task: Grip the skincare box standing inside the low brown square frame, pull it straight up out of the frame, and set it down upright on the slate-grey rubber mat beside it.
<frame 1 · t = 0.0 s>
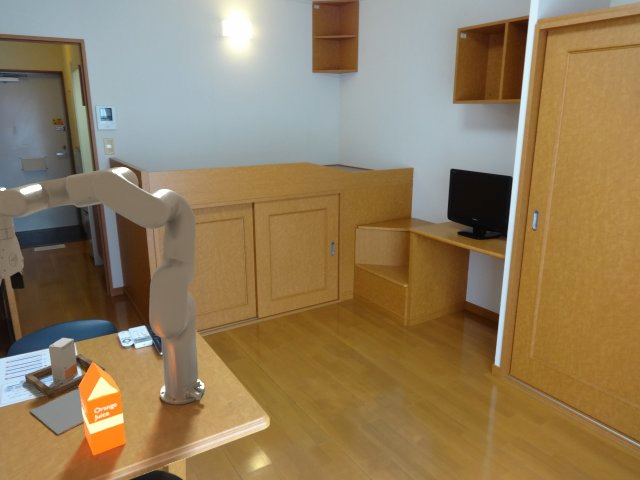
hand: (8, 294, 129), 31 cm above the table, tool pointing down, fingers open, 9 cm apart
rubber mat: (72, 409, 131), on the table
orange juice: (105, 440, 119), on the table
skincare box: (66, 378, 147), resting in brown square frame
brown square frame: (66, 377, 147), on the table
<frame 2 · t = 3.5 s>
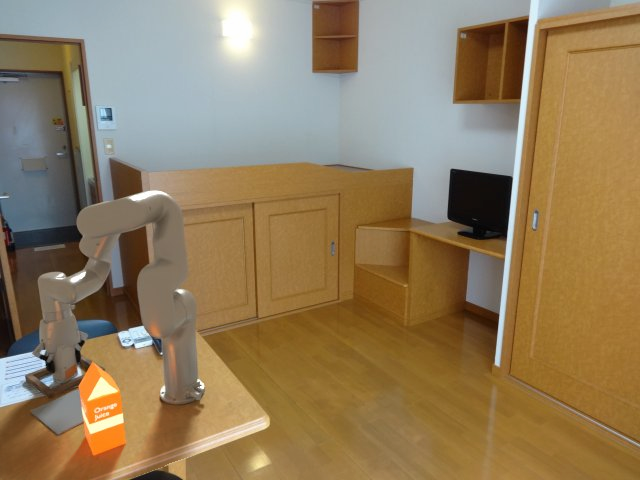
hand: (64, 366, 146), 4 cm above the table, tool pointing down, fingers closed on skincare box, 7 cm apart
skincare box: (66, 378, 147), resting in brown square frame, touching gripper
everything else where it was.
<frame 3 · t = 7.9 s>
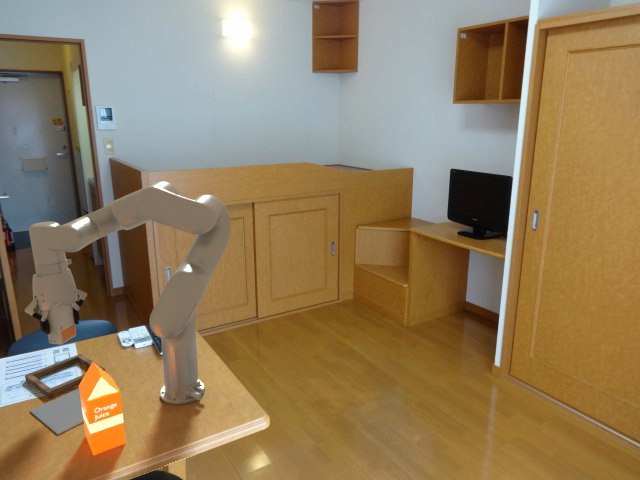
hand: (61, 327, 133), 21 cm above the table, tool pointing down, fingers closed on skincare box, 7 cm apart
skincare box: (63, 340, 134), point 17 cm above the table, touching gripper
everything else where it was.
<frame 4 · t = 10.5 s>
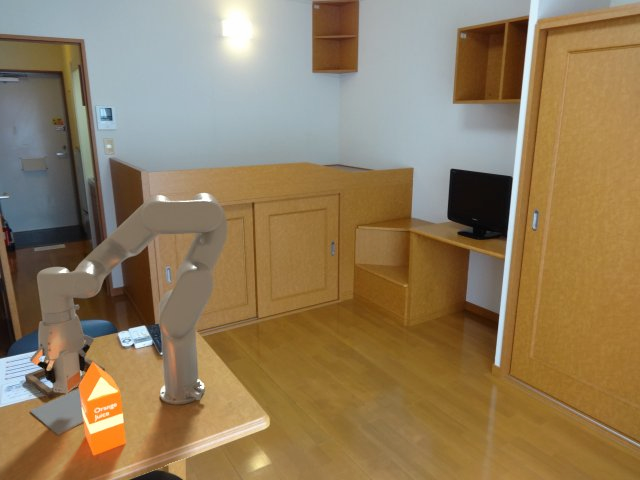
hand: (66, 374, 128), 11 cm above the table, tool pointing down, fingers closed on skincare box, 7 cm apart
skincare box: (68, 387, 129), point 7 cm above the table, touching gripper
everything else where it was.
when the fingers open (6 cm above the table, at t = 12.5 s): skincare box drops 1 cm, resting on rubber mat.
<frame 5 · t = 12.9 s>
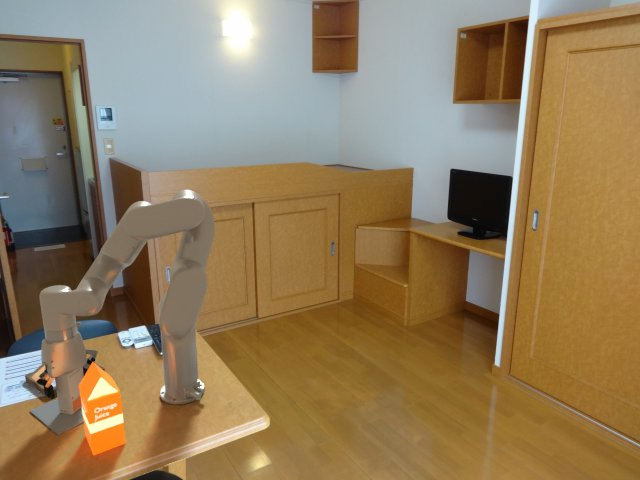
hand: (69, 389, 130), 6 cm above the table, tool pointing down, fingers open, 9 cm apart
skincare box: (73, 408, 131), resting on rubber mat
everything else where it was.
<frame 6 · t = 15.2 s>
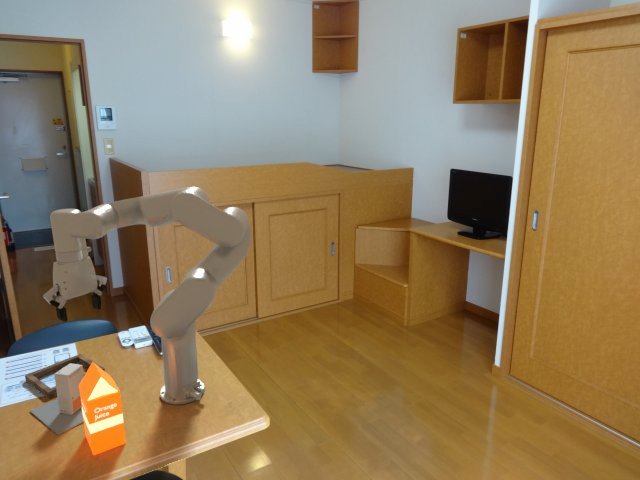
hand: (80, 314, 131), 25 cm above the table, tool pointing down, fingers open, 9 cm apart
nothing on the table moved.
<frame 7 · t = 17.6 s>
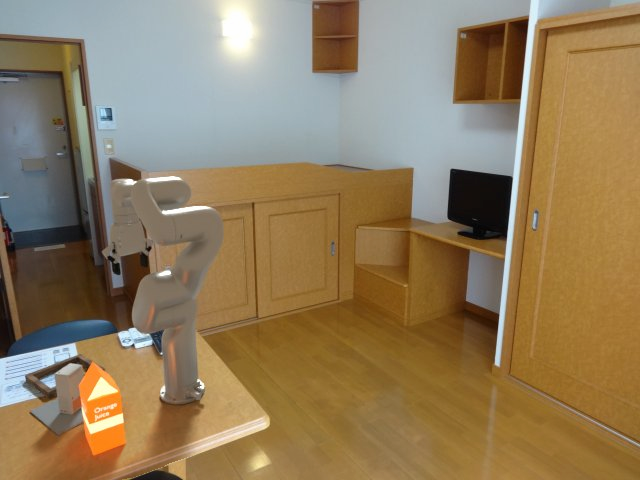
hand: (131, 270, 153), 30 cm above the table, tool pointing down, fingers open, 9 cm apart
nothing on the table moved.
at the end: skincare box inside the target area (0.4 cm from its centre), resting on rubber mat; skincare box tilted 0°; the gripper is holding nothing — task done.
